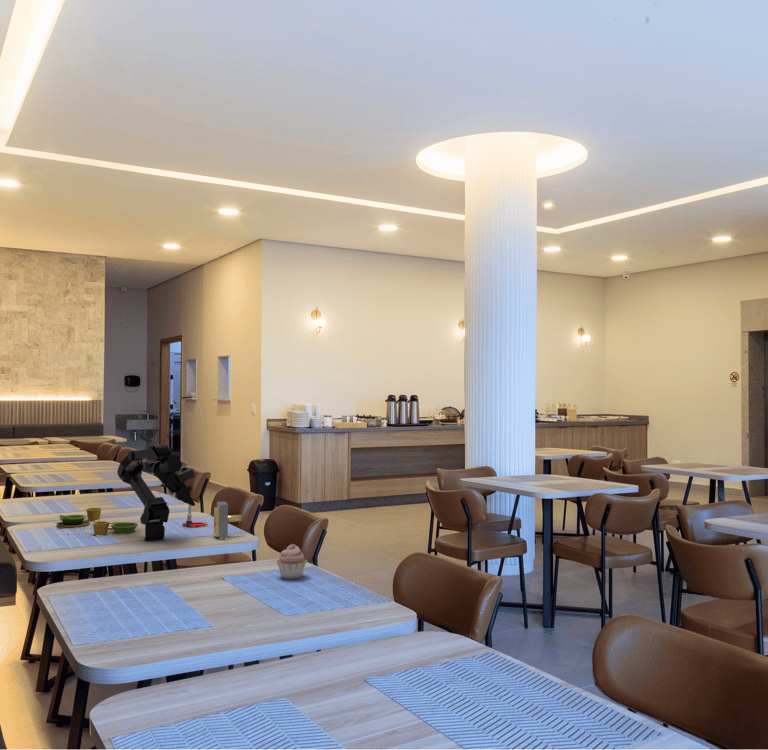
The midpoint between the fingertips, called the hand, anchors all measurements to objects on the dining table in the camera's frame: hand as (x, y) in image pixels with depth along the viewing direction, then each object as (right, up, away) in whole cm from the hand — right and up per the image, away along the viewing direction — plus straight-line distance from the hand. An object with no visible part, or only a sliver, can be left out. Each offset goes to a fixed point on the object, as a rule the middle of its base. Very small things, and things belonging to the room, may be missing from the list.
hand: (194, 505), depth 269 cm
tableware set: (-46, -14, +21) cm, 52 cm away
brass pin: (+12, -12, +3) cm, 17 cm away
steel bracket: (+10, -13, +3) cm, 16 cm away
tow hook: (-6, -14, +26) cm, 30 cm away
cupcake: (+44, -11, -56) cm, 72 cm away
